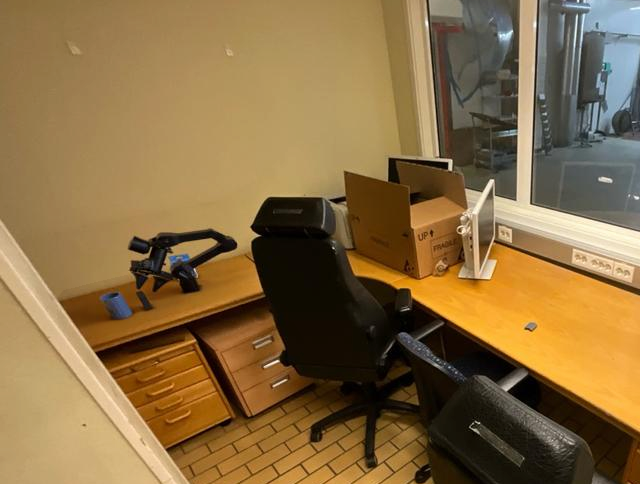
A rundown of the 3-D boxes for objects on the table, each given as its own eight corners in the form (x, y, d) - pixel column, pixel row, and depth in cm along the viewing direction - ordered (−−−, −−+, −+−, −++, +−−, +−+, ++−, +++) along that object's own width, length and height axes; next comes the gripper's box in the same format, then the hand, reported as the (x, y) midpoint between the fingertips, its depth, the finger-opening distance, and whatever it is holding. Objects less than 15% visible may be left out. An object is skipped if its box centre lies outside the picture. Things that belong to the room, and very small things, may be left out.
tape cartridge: (177, 281, 203) (166, 259, 196) (178, 278, 206) (167, 256, 199) (197, 277, 207) (187, 256, 200) (198, 275, 210) (188, 253, 203)
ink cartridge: (153, 308, 181) (144, 293, 176) (147, 310, 179) (138, 295, 175) (149, 305, 183) (141, 290, 179) (144, 307, 182) (135, 291, 177)
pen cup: (133, 310, 180) (121, 290, 174) (130, 317, 175) (118, 297, 169) (114, 313, 177) (101, 294, 171) (110, 320, 172) (97, 301, 166)
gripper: (122, 249, 175) (110, 282, 173) (154, 254, 171) (142, 287, 169) (148, 258, 186) (137, 289, 184) (179, 263, 182) (168, 295, 180)
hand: (145, 290), depth 179 cm, fingers open, 9 cm apart
